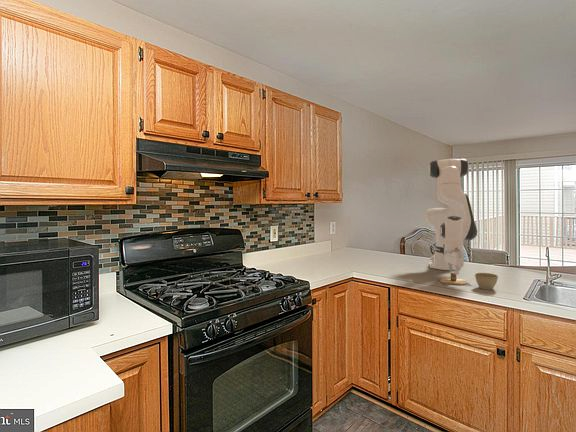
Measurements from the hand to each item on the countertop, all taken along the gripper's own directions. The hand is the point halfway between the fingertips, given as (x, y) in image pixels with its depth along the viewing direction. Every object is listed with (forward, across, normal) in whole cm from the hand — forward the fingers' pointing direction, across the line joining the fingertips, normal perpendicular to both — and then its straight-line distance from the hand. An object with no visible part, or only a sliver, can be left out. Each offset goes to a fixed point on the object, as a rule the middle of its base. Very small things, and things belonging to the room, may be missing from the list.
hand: (453, 272), depth 183 cm
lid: (+5, +1, 0) cm, 5 cm away
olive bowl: (+6, -10, -12) cm, 17 cm away
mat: (+6, +1, 0) cm, 6 cm away
